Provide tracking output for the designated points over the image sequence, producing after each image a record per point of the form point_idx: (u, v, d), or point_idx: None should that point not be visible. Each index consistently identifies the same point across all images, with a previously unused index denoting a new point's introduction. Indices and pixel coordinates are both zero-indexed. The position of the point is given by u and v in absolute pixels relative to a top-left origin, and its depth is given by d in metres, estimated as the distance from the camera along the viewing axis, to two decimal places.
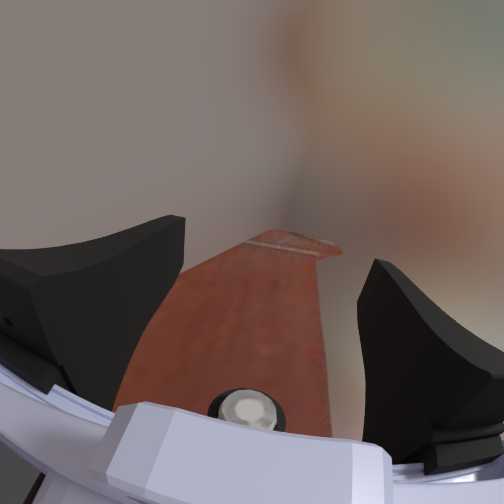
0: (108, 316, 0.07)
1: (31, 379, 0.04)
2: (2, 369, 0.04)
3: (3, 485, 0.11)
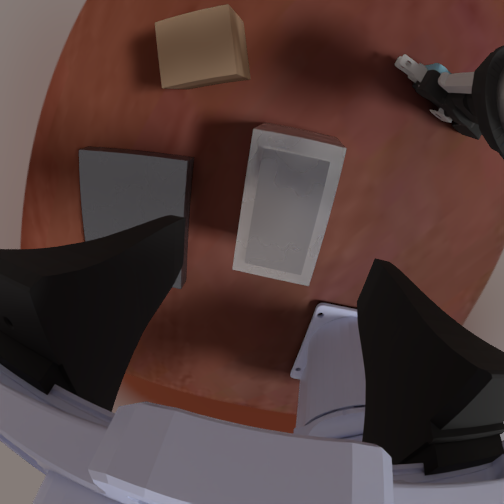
0: (108, 316, 0.07)
1: (31, 379, 0.04)
2: (2, 369, 0.04)
3: None
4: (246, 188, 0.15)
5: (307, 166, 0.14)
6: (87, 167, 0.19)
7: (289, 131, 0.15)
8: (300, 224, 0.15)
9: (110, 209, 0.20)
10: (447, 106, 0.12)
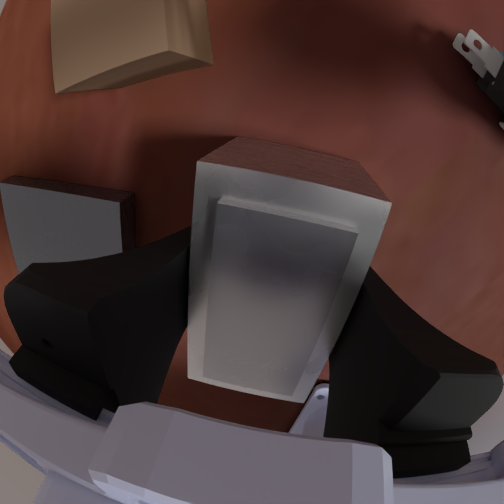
0: (153, 331, 0.06)
1: (31, 379, 0.04)
2: (38, 394, 0.04)
3: None
4: (193, 274, 0.08)
5: (309, 241, 0.07)
6: (9, 205, 0.12)
7: (276, 158, 0.08)
8: (292, 337, 0.08)
9: (40, 260, 0.14)
10: None
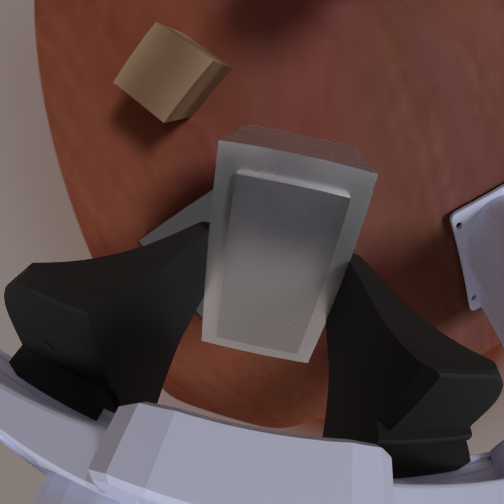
0: (154, 331, 0.06)
1: (31, 379, 0.04)
2: (38, 394, 0.04)
3: None
4: (212, 237, 0.09)
5: (311, 204, 0.08)
6: None
7: (282, 140, 0.09)
8: (297, 292, 0.10)
9: None
10: None
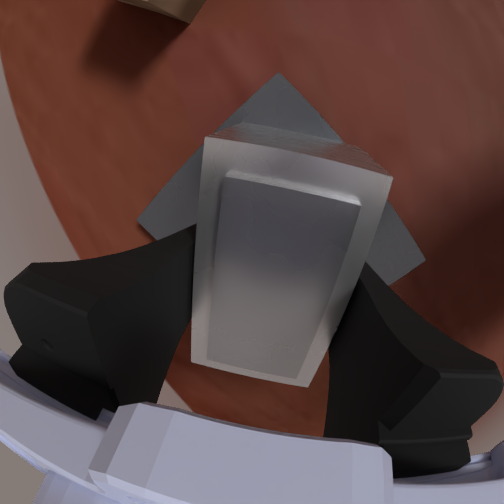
0: (153, 331, 0.06)
1: (31, 379, 0.04)
2: (38, 393, 0.04)
3: None
4: (199, 250, 0.08)
5: (314, 214, 0.07)
6: (165, 229, 0.13)
7: (280, 138, 0.08)
8: (297, 314, 0.08)
9: None
10: None
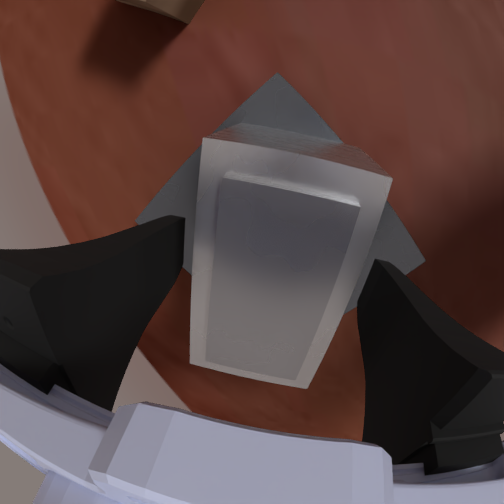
0: (108, 316, 0.07)
1: (31, 379, 0.04)
2: (2, 369, 0.04)
3: None
4: (197, 251, 0.08)
5: (312, 215, 0.07)
6: None
7: (279, 139, 0.08)
8: (296, 316, 0.08)
9: None
10: None
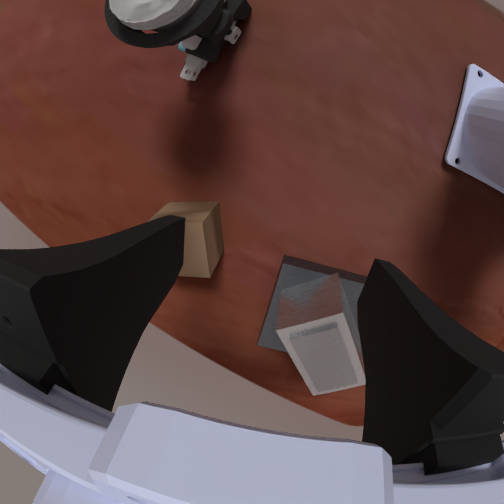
0: (108, 316, 0.07)
1: (31, 379, 0.04)
2: (2, 369, 0.04)
3: None
4: (293, 359, 0.20)
5: (323, 336, 0.18)
6: (273, 342, 0.26)
7: (300, 307, 0.20)
8: (339, 363, 0.19)
9: None
10: (214, 39, 0.13)
